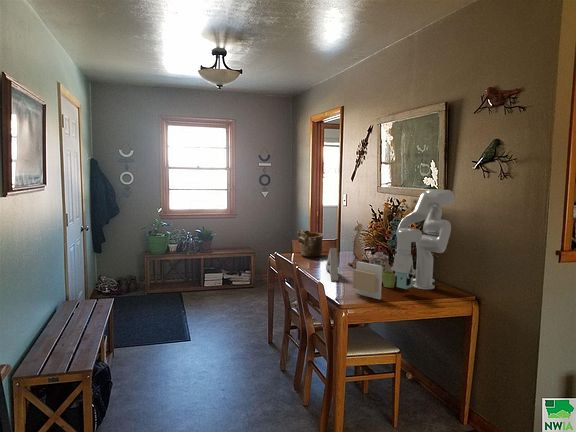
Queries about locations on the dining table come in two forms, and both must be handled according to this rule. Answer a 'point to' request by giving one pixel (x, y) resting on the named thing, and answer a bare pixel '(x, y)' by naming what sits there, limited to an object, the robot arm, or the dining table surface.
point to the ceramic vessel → (310, 243)
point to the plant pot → (388, 279)
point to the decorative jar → (380, 261)
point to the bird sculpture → (357, 247)
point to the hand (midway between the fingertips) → (402, 283)
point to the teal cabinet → (403, 280)
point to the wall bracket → (332, 264)
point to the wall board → (368, 280)
